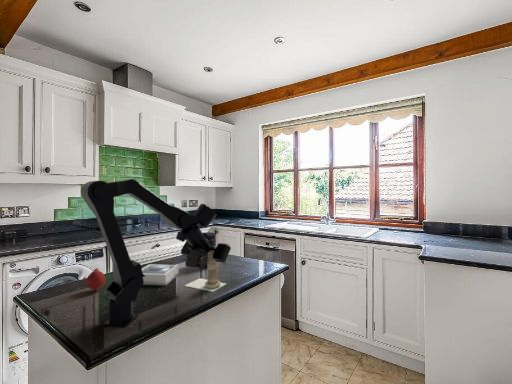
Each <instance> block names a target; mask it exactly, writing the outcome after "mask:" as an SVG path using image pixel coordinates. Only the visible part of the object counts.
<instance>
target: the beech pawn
mask: <svg viewBox="0 0 512 384" xmlns="http://www.w3.org/2000/svg"><path fill="white" fill-rule="evenodd" d="M206 270H207V275H206V276H207V277H206V278H207V279H206V280H207V282H205V287H206V288H208V289H215V288H218V287H220V282H221V281H220V280H219V262H216V261H215V260H214V259H213V253H209V252H208V255H207V268H206Z"/></svg>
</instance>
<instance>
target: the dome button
mask: <svg viewBox="0 0 512 384" xmlns="http://www.w3.org/2000/svg"><path fill="white" fill-rule="evenodd" d="M167 265H168V264H159V263H158V264H157V265H152V266H149V267H146V268H145V269H144V273H151V274H165V273H166V272H168V271H169V270H170V267H169V266H167Z"/></svg>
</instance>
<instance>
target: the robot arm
mask: <svg viewBox="0 0 512 384" xmlns="http://www.w3.org/2000/svg"><path fill="white" fill-rule="evenodd" d="M80 194H81V195H80V196H81V197H82V199H83V201H84V202H85V204H86V205H87V207H88V208H89V210H90V211H91V212H92V213H93V215H94V216H95V218H96V221H97V225H98V226H99V229H100V232H101V234H102V237H103V240H104V242H105V245H106V247H107V251H108V253H109V256H110V258H111V261H112V276H113V281H112V282H111V283H110V284H109V285H108V286H107V287H106V288H105V290H104V292H105V294H106V296H107V297H108V298H110V299H109V302H108V319H107V320H106V321H105V322H104V323H103V326H106V327H107V326H108V327H127V326H129V324H131V323H132V322H133V321H134V320H136V318H137V317H139V314H138V313H134V302H135V301H136V300H137V297H138V295H139V291H140V290H141V289H142V287H143V286H144V285H143V284H144V280H143V277H145V275H144V274H143V273H142V265H141V263H140V262H138V261H135V260H133V259H131V257H130V255H129V254H130V253H129V252H128V249H127V245H126V244H125V241H124V237H123V235H122V231H121V229H120V225H119V223H118V221H117V220H118V219H117V218H116V215H115V210H114V209H115V197H121V196H124V195H129V196H130V197H132V198H134V199H135V200H137V201H138V202H139V203H141V204H143V205H144V206H145V207H147V208H149V209H150V210H152V211H153V212H155V213H157V214H158V216H159V217H160V218H161V219H162V220H163V221H164V222H165V223H166V224H167V225H168V226H169V227H171V228H173V229H174V228H175V229H180V231H177V235H176V236H175V239H176V240H178V241H180V242H185V243H184V244H183V246H182V247H181V250H180V254H181V255H182V256H183V257H186V260H185V264H184V265H185V267H187V268H190V269H196V270H202V269H203V268H202V267H204V266H205V263H206V258H205V257H207V255H208V252H209V253H213V259H214V260H215V261H216V262H218V263H220V264H222V265H223V266H225V265H226V264H227V258H228V256H229V254H230V251H231V249H232V247H231V246H230V245H229V243H224V242H223V243H222V242H220V243H217V244H216V245H215V246H211V244H212V243H213V242H212V241H211V240H208V239H207V236H208V235H207V234H205V232H203V231H202V229H203V228H204V229H207V228H208V227H209V226H210V224H211V223H212V222H213V221H214V220H215V219H216V216H217V212H216V211H215V210H214V209H212V208H211V207H210V206H207V205H206V203H200V204H199V206H198V208H197V209H196V210H195V212H194V213H192V214H191V213H189V212H188V211H186V210H184V209H182V208H181V207H177V206H174V205H171V204H169V203H168V202H166V201H165V200H164V199H162V198H161V197H159V196H158V195H157V194H155V193H154V192H152V190H149V189H148V188H146V187H145V186H144V185H142V184H141V183H140V182H139V181H138V180H136V179H135V178H127V179H123V180H119V181H112V182H107V181H105V180H91V181H88V182H85V184H83V185H82V187H81V188H80Z"/></svg>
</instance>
